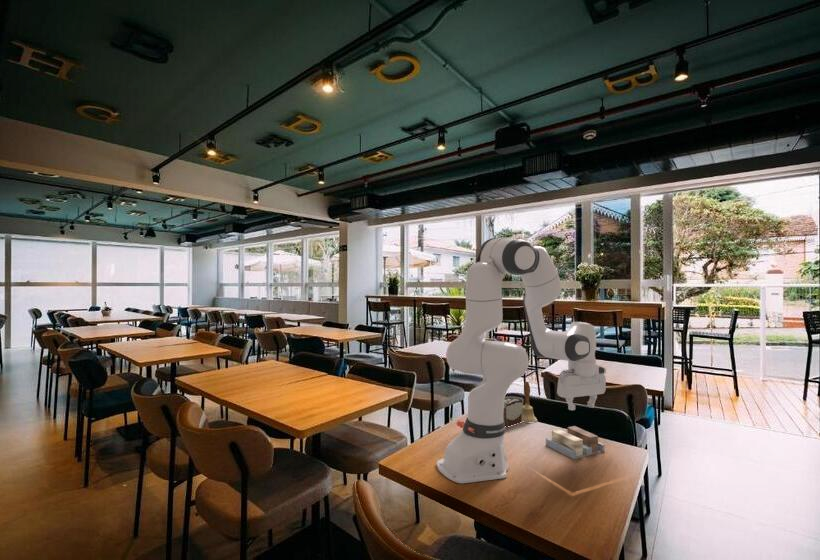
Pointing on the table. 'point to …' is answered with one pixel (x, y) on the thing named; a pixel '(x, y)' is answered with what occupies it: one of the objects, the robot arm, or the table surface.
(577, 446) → the maple bar
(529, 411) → the hand bell
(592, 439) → the walnut bar
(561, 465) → the table surface
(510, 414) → the food container
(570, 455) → the slot rack
